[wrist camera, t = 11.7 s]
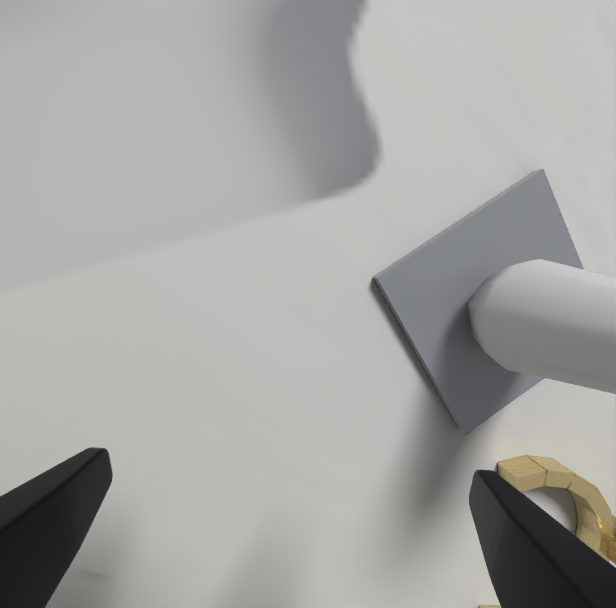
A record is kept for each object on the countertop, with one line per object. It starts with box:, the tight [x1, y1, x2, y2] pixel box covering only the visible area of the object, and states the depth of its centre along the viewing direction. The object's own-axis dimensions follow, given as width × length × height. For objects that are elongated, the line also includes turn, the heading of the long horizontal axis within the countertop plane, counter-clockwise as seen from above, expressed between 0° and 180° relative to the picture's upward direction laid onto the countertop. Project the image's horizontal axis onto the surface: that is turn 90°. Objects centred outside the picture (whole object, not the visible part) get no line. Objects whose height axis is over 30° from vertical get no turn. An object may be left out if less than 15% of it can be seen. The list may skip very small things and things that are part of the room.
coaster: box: [373, 169, 584, 435], centre depth 20 cm, size 11×11×1 cm
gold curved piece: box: [479, 455, 616, 608], centre depth 21 cm, size 10×12×6 cm
